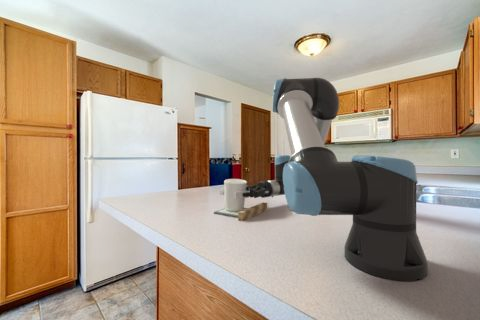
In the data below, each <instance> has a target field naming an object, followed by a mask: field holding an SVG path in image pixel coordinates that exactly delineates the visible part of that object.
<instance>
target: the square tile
mask: <svg viewBox="0 0 480 320" xmlns="http://www.w3.org/2000/svg"><path fill="white" fill-rule="evenodd" d="M248 208H249V207H244V209H243V210H245V209H248ZM243 210H241V211H243ZM238 212H240V211H228V210H226V209H225V207H224V208H221V209H220V210H215V211H213V214H214V215H219V216H220V215H221V216H225V217H230V218H235V219H238Z"/></svg>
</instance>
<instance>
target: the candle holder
mask: <svg viewBox="0 0 480 320" xmlns="http://www.w3.org/2000/svg"><path fill="white" fill-rule="evenodd" d="M247 183H248V181H247V180H245V179H240V178H228V179H227V178H226V179H225V180H224V181H223V184H224V186H223V188H224V195H223V196H224V197H223V198H224V201H223V203H224V208H225V209H226V210H228V211H241V210H243V209H244V208H245V201H246V198H241V199H235V195H234V192H240V191H246V186H248V184H247Z"/></svg>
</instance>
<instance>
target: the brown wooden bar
mask: <svg viewBox="0 0 480 320" xmlns="http://www.w3.org/2000/svg"><path fill="white" fill-rule="evenodd" d="M247 208H248V209H245V210H243V211H240V212H238V218H237V220H238V221H241V222H244V221H246V220H248V219H251V218H252V217H255V216H257V215H259V214H261V213H263V212H265V211H268V202H260V203H258V204H256V205H253V206H251V207H247Z"/></svg>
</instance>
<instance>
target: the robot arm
mask: <svg viewBox="0 0 480 320" xmlns="http://www.w3.org/2000/svg"><path fill="white" fill-rule="evenodd" d="M339 110H340V98H339V93H338V91H337V89H336V88H335V86H334V85H333V84H332V83H331V82H330V81H329V80H327V79H325V78H323V77H307V78H305V77H304V78H286V77H285V78H279V79H276V80H275V81H274V85H273V97H272V112H273V113H275V114H278V115H279V117H281V118H282V119H283V121H284V124H285V125H284V126H285V130H286V134H287V140H288V141H287V142H288V145H289V149H290V154H291V155H289V154H286V155H285V154H283V155H281V154H279V155H276V156H275V158H274V179H272V180H261V181H259V182H258V183H257V185H256V184H254V185H246V191H240V192H234V195H235V199H241V198H245V199H247V198H248V199H249V198H254V199H257V198H263V199H264V198H269V197H270V198H274V197H275V196H276V197H277V196H285V199H286V203H287V205H288V207H289V209H290V210H291V211H292V212H294V214H297V215H305V216H310V217H316V216H352V225H351V227H350V229H349V230H350V231H349V233H348V235H347V238H346V241H345V244H344V249H343V250H344V253H343V254H344V257H345V260H346V261H347V262H348V263H349V264H350V265H352V266H353V267H355V268H356V269H358V270H361V271H362V272H365V273H367V274H371V275H373V276H376V277H380V278H383V279H388V280H394V281H403V282H404V281H405V282H407V281H408V282H409V281H411V280H413V281H418V280H417V279H419V280H422V279H421V278H423V279H425V278H426V277H427V276H428V270H429V269H428V267H429V266H428V259H427V256H426V253H425V252H424V249H423V246H422V244H421V241H420V238H419V236H418V233H417V184H418V179H417V171H416V170H417V169H416V165H415V164H414V163H413V162H412V161H410V160H408V159H403V158H397V157H396V158H395V157H390V156H389V157H387V156H378V155H376V156H374V155H365V154H364V155H362V154H359V155H358V154H355V155H353V156H352V158H351V161H338V158H337V156H336V154H335V152H333V150H331V149H330V148H329V147H325V144H326V140H327V138H328V134H329V131H330V129H331V125H332V121H333V120H335V119H336V118H337V116H338V113H339ZM219 195H220V196H224V187H223V188H221V187H220V188H219ZM425 276H426V277H425Z"/></svg>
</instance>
